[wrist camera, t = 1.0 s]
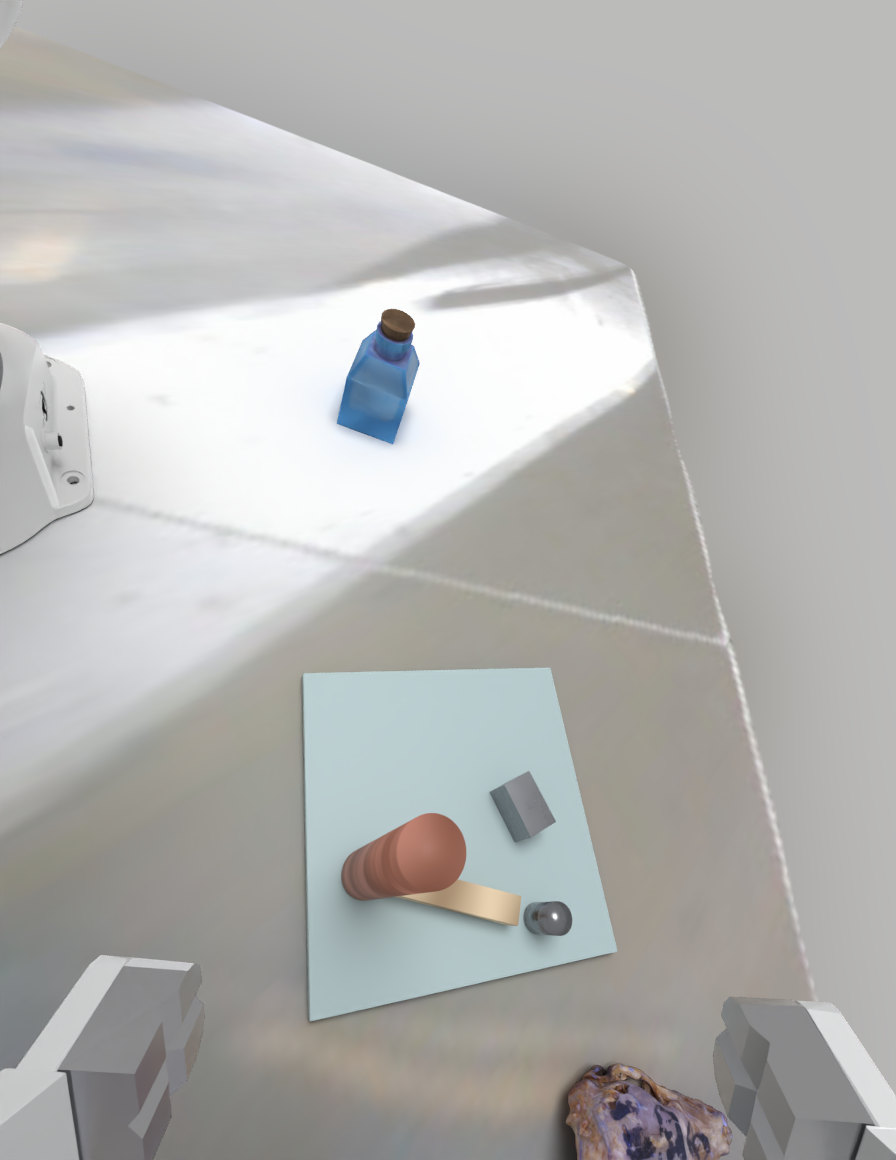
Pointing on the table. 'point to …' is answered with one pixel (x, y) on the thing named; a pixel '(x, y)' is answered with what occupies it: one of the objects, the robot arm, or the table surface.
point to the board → (456, 790)
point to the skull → (642, 1120)
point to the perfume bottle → (381, 378)
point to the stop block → (522, 807)
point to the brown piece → (425, 871)
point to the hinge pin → (548, 918)
